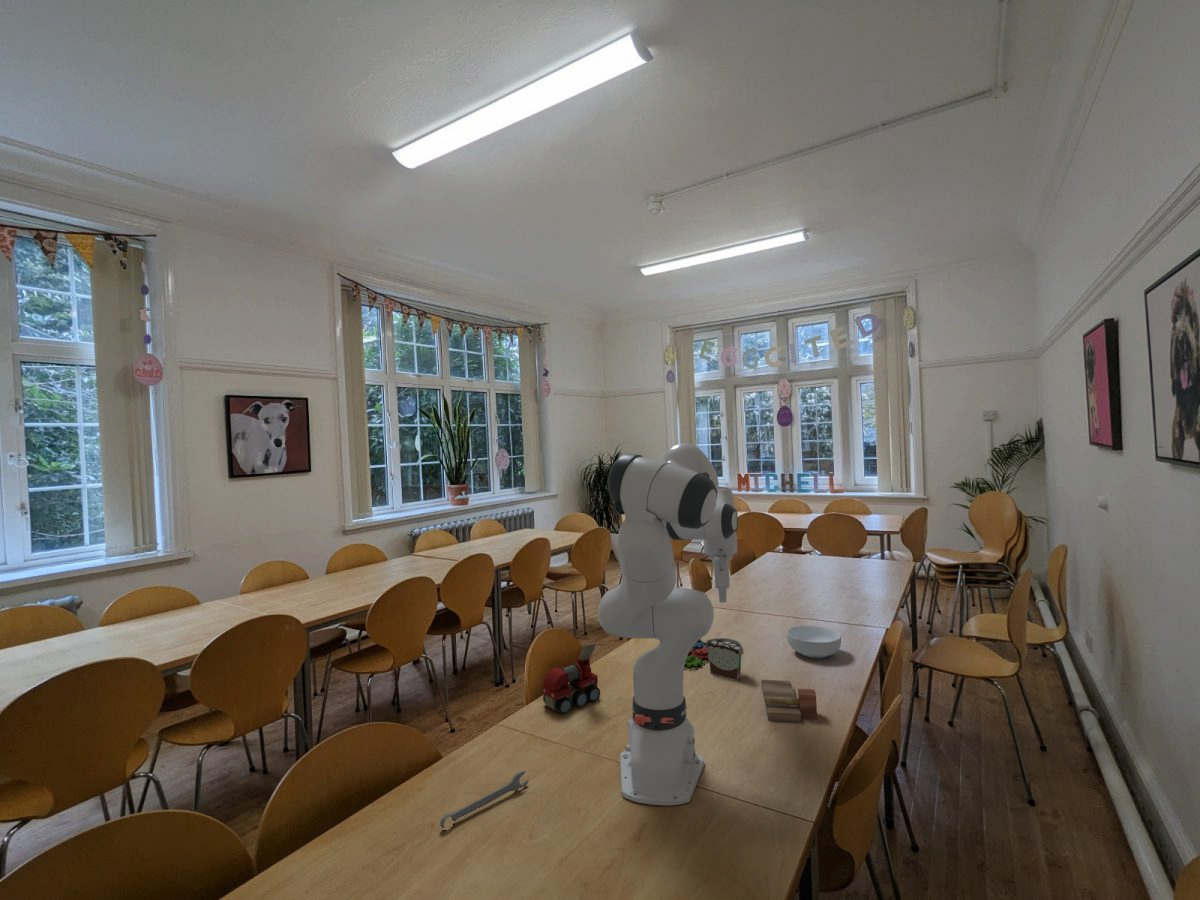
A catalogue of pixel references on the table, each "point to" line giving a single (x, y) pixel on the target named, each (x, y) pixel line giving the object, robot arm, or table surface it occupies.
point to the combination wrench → (487, 798)
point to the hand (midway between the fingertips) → (722, 596)
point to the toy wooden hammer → (799, 702)
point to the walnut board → (780, 710)
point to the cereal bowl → (814, 640)
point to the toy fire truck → (572, 684)
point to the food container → (725, 657)
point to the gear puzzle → (696, 656)
